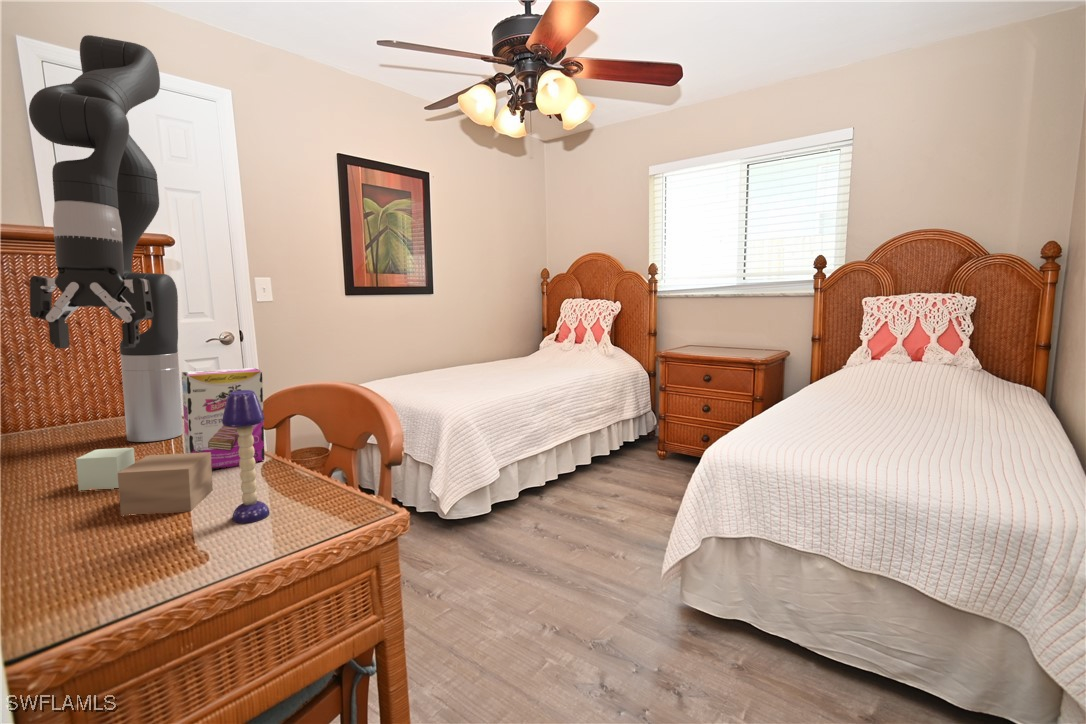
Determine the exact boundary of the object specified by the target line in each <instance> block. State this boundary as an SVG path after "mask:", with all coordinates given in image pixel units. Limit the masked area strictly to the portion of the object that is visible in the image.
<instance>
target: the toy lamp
mask: <svg viewBox="0 0 1086 724" xmlns="http://www.w3.org/2000/svg"><path fill="white" fill-rule="evenodd" d="M264 420H265V415H264V411H263V412H262V409H261V406H260V404H259V401H258V399H257V396H256V394H255V392H254V391H252V390H239V391H234V392H230V393H229V394H228V397H227V401H226V405H225V410H224V414H223V419H222V424H223V425H224V426H226V427H237V433H238V435H239V437H238V445H239V446H240V448H239V457H240V458H241V459H240V463H239V465H238V466H239V469H240V474H239V478H240V480H241V484H240V487H241V488H240V489H241V492H242V494H241V501H242V503H241V504H239V505H237V507H236V508H235V509H234V511H233V513H232V518H231V519H232V521H233V522H234V523H238V524H247V523H248V524H249V523H254V522H258V521H261V520H263V519H265V518H267V517H268V516H269V515H270V510H269V509H270V508H269V507H268V505H267V504H266V503H265V502H263V501H260V500H258V497H259V496H258V492H257V487H258V484H257V483H258V482H257V481H256V477H257V472H256V469H255V467H256V462H255V459H254V457H253V456H254V453H255V451H254V447H253V446H252V445H253V443H254V438H253V435H252V432H253V426H252V425H256V424H260V423H261V422H263V421H264ZM264 422H265V421H264Z"/></svg>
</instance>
